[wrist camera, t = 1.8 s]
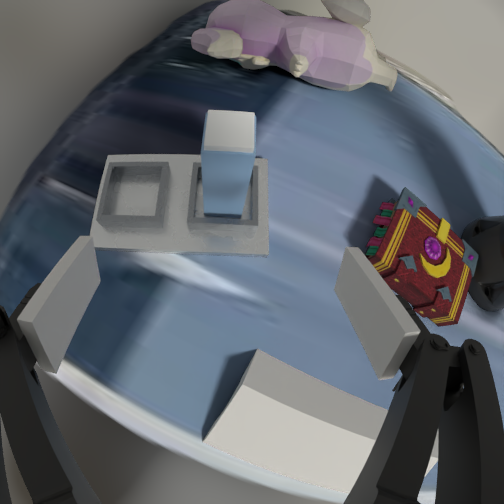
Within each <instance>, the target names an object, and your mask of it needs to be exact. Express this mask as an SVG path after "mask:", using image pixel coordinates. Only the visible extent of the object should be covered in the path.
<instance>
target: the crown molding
mask: <svg viewBox="0 0 504 504" xmlns="http://www.w3.org/2000/svg"><path fill="white" fill-rule="evenodd" d="M387 413H388V410H386V409H384V408H382V407H379V406H377V405H374V404H372V403H370V402H367V401H365V400H363V399H360V398H358V397H356V396H353V395H351V394H349V393H347V392H344V391H342V390H340V389H338V388H336V387H333V386H331V385H329V384H327V383H325V382H323V381H321V380H318V379H316V378H314V377H312V376H310V375H308V374H306V373H304V372H302V371H300V370H298V369H296V368H294V367H292V366H290V365H288V364H286V363H284V362H282V361H280V360H278V359H276V358H274V357H272V356H270V355H268V354H267V353H265V352H263V351H261V350H259V349H257V351H256V352H255V354H254V356H253V358H252V359H251V361H250V363H249V366H248V367H247V369H246V370H245V373H244V375H243V376H242V378H241V381H240V383H239V386H238V387H237V388H236V390H235V392H234V394H233V395H232V397H231V399H230V401H229V402H228V404H227V406H226V407H225V409H224V410H223V412H222V413H221V415H220V416H219V417H218V418H217V420H216V421H215V422H214V424H213V425H212V427H211V429H210V430H209V432H208V434H207V435H206V437H205V438H204V440H203V442H204V443H206V444H208V445H210V446H212V447H214V448H216V449H219V450H221V451H223V452H225V453H227V454H230V455H232V456H234V457H236V458H239V459H241V460H244V461H246V462H248V463H251V464H253V465H256V466H259V467H261V468H264V469H267V470H269V471H272V472H275V473H278V474H281V475H283V476H286V477H289V478H293V479H296V480H299V481H302V482H305V483H309V484H312V485H316V486H320V487H323V488H327V489H331V490H335V491H339V492H344V493H348V494H349V493H350V491H351V490H352V488H353V486H354V484H355V482H356V480H357V478H358V477H359V475H360V473H361V471H362V469H363V467H364V465H365V463H366V461H367V459H368V457H369V454H370V452H371V450H372V448H373V446H374V444H375V441H376V439H377V437H378V435H379V432H380V430H381V427H382V425H383V423H384V420H385V418H386V415H387ZM437 461H438V430H437V435H436V439H435V442H434V446H433V450H432V454H431V457H430V461H429V464H428V467H427V470H426V473H425V476H426V474H427V473H428V472H429V471H430V470H431V468H432V467H433V466H434V465H435V463H436V462H437ZM425 476H424V477H425Z"/></svg>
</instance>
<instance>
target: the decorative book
mask: <svg viewBox="0 0 504 504" xmlns="http://www.w3.org/2000/svg"><path fill="white" fill-rule="evenodd" d="M426 206H427V205H426V204H425V203H423V202H422V201H421V200H420V199H419V198H418V197H417V196H415V195H414V194H413V193H412V192H411V191H409V190H408V189H407V188H406V187H405V188H404V189H403V190H402V192H401V194H400V197H399V199H398V201H397V202H396V201H395V200H394V199H391V200H390V201H389V203H385V202H382V205H381V207H380V209H381V210H383V212H382V214H381V216H379V215H376V217H375V219H374V221H373V223H376V224H380V226H379V227H377V229H376V231H375V233H374V237H372V238H370V240H369V242H368V244H367V246H369V245H370V246H369V248H368V250H367V252H366V254H365V256H366V258H367V259H368V260H369V261H370V263H371V264H372V265H373V267H374V268H375V269H376V270H377V272H378V273H379V274H380V276H381V277H382V278H383V280H384V281H385V282H386V283H387V285H388V286H389V287H390V289H391V290H394V291H395V292H396V293H397V294H399V295H400V296H401V297H403V298H404V299H405V300H406V301H408V302H409V303H410V304H411V305H413V306H414V309H413V310H414V311H416V312H417V313H418V314H419V315H421V316H422V317H428V318H429V319H430V320H431V321H432V322H434V323H435V324H436V325H437V326H447V325H454V324H458V321H459V318H460V315H461V312H462V309H463V306H464V302H465V299H466V296H467V293H468V289H469V286H470V282H471V278H472V277H473V276H474V272H475V268H476V265H477V260H478V256H479V255H478V254H477V253H476V252H475V251H474V250H473V249H472V248H471V247H470V246H469V245H468V244H467V243H466V242H465V241H464V240H463V239H462V240H461V239H460V238H459V237H458V236H457V235H456V234H455V233H454V232H453V231H452V230H451V229H450V224H449V223H448V222H447V221H446V220H444V219H443V218H442V219H439V218H438V217H437V216H436V215H435V214H434V213H432V212H431V211H430V210H429V209H428V208H427V207H426ZM367 246H366V247H367Z"/></svg>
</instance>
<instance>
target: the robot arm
mask: <svg viewBox="0 0 504 504" xmlns="http://www.w3.org/2000/svg"><path fill="white" fill-rule="evenodd" d="M462 239H463V240H464V241H465V242H466V243H467V244H468V245H469V246H470V247H471V248H472V249H473V250H474V251H475V252H476V253H477V254H478V255H479V256H478V260H477V265H476V268H475V272H474V276H473V277H472V278H471V282H470V286H469V289H468V290H469V292H470V294H471V296H472V298H473V299H474V300H475V302H476V303H477V304H478V305H479V306H480V307H481V308H483V309H485V310H487V311H495V310H499V309H503V308H504V216H492V217H482V218H479V219H477V220H475V221H474V222H472V223H470V224H469V225H468V226H467V227H466V228H465V230H464V232H463V235H462V238H461V240H462ZM100 282H101V281H100V276H99V271H98V265H97V260H96V254H95V248H94V241H93V236H80V237H79V238H78V239H77V240H76V241H75V242H74V244H73V245H72V246H71V247H70V248H69V250H68V251H67V252H66V253H65V255H64V256H63V257H62V258H61V259H60V261H59V262H58V263H57V264H56V266H55V267H54V268H53V270H52V271H51V272H50V273H49V275H48V276H47V277H46V279H45V280H44V281H43V283H38V284H36V285H35V286H33V287H32V288H31V289H30V290H29V291H28V292H27V294H26V295H25V298H23V299H22V301H21V302H20V304H19V305H18V306H17V308H16V309H15V311H14V312H13V313H12V315H11V316H10V318H8V316H7V313H6V311H5V309H4V307H2V306H1V305H0V413H1V417H2V420H3V424H4V428H5V431H6V434H7V437H8V440H9V443H10V446H11V449H12V452H13V455H14V458H15V460H16V463H17V465H18V468H19V470H20V472H21V475H22V477H23V480H24V482H25V485H26V487H27V489H28V491H29V493H30V496H31V497H32V500H33V504H102V503H101V502H100V500H99V499H98V497H97V496H96V494H95V493H94V491H93V490H92V488H91V487H90V485H89V484H88V482H87V480H86V478H85V477H84V475H83V473H82V472H81V470H80V468H79V466H78V465H77V463H76V461H75V459H74V458H73V456H72V454H71V452H70V451H69V448H68V446H67V444H66V442H65V440H64V438H63V436H62V434H61V432H60V430H59V428H58V426H57V424H56V422H55V419H54V417H53V415H52V412H51V410H50V408H49V405H48V403H47V400H46V398H45V395H44V393H43V390H42V387H41V385H40V382H39V379H38V376H37V373H36V371H35V369H34V368H33V367H34V365H35V363H36V361H37V362H38V364H39V366H40V368H41V370H43V371H47V372H52V373H57V371H58V369H59V366H60V364H61V361H62V359H63V357H64V355H65V352H66V350H67V348H68V346H69V343H70V341H71V339H72V337H73V335H74V333H75V331H76V328H77V326H78V324H79V322H80V320H81V318H82V316H83V314H84V312H85V310H86V308H87V306H88V304H89V302H90V300H91V298H92V296H93V295H94V293H95V291H96V289H97V287H98V285H99V283H100ZM334 290H335V292H336V294H337V296H338V298H339V300H340V302H341V304H342V306H343V308H344V310H345V312H346V314H347V316H348V318H349V320H350V322H351V324H352V326H353V328H354V330H355V332H356V334H357V336H358V338H359V340H360V342H361V344H362V346H363V348H364V350H365V352H366V354H367V356H368V358H369V360H370V362H371V365H372V367H373V369H374V371H375V373H376V375H377V377H378V379H379V380H384V379H389V378H394V376H395V374H396V373H397V371H398V370H399V369H400V370H401V372H402V374H403V375H402V377H401V378H400V380H399V381H398V383H397V384H396V386H395V387H394V389H393V390H392V391H395V390H396V391H395V394H394V397H393V399H392V402H391V405H390V407H389V410H388V413H387V415H386V418H385V420H384V423H383V425H382V427H381V430H380V432H379V435H378V437H377V439H376V441H375V444H374V446H373V448H372V450H371V452H370V454H369V457H368V459H367V461H366V463H365V465H364V467H363V469H362V471H361V473H360V475H359V477H358V478H357V480H356V482H355V484H354V486H353V488H352V490H351V491H350V493H349V495H348V497H347V498H346V500H345V502H344V504H420V503H419V502H418V501H417V497H418V494H419V491H420V488H421V485H422V482H423V479H424V476H425V473H426V470H427V467H428V464H429V461H430V457H431V454H432V450H433V446H434V442H435V439H436V435H437V430H438V474H437V488H436V499H435V504H504V429H503V423H502V417H501V411H500V406H499V401H498V397H497V392H496V388H495V384H494V379H493V376H492V372H491V368H490V364H489V361H488V357H487V354H486V351H485V349H484V347H483V346H482V345H481V343H479V342H478V341H476V340H473V339H467V340H465V341H464V343H463V344H462V346H461V347H455V346H450V345H449V343H448V341H447V340H446V339H445V338H443V337H442V336H440V335H437V334H430V332H429V331H428V329H427V328H426V326H425V325H424V324H423V322H422V321H421V320H420V318H419V317H418V315H416V313H415V311H414V310H412V307H411V306H410V305H409V303H408V302H407V301H406V300H405V299H404V298H402V297H401V296H400V295H395V294H394V293H393V292H392V290H391V289H390V287H389V286H388V285H387V283H386V282H385V281H384V280H383V278H382V277H381V276H380V274H379V273H378V272H377V270H376V269H375V268H374V267H373V265H372V264H371V263H370V261H369V260H368V259H367V258H366V256H365V255H364V254H363V253H362V251H361V250H360V249H359V248H358V247H346V248H345V252H344V256H343V260H342V263H341V267H340V271H339V274H338V278H337V281H336V285H335V288H334ZM463 386H464V389H463ZM0 504H12V502H11V498H10V494H9V489H8V483H7V478H6V472H5V465H4V458H3V449H2V438H1V424H0Z"/></svg>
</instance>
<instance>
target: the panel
mask: <svg viewBox="0 0 504 504" xmlns="http://www.w3.org/2000/svg"><path fill="white" fill-rule="evenodd" d="M90 236H93V241H94V248H95V250H104V251H126V252H148V253H170V254H193V255H217V256H241V257H265V258H267V256H268V255H269V230H268V163H267V159H262V158H255V161H254V165H253V170H252V174H251V178H250V182H249V186H248V191H247V195H246V199H245V203H244V208H243V212H242V216H241V218H233V217H211V216H204V204H203V187H202V166H201V155H186V154H128V155H108V157H107V160H106V164H105V168H104V171H103V175H102V179H101V183H100V188H99V192H98V196H97V201H96V206H95V210H94V215H93V221H92V226H91V231H90Z"/></svg>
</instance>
